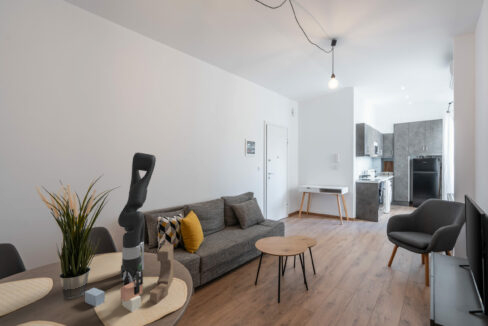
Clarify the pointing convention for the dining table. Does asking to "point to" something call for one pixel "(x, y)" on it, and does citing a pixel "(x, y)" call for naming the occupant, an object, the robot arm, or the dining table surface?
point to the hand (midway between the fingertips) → (131, 290)
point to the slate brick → (94, 297)
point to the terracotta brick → (129, 292)
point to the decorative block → (165, 264)
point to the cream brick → (132, 303)
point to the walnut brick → (158, 293)
